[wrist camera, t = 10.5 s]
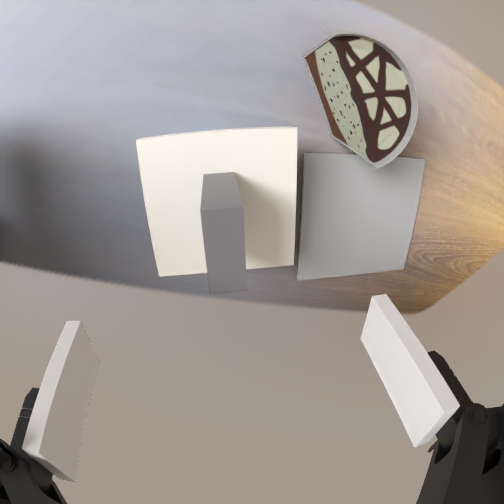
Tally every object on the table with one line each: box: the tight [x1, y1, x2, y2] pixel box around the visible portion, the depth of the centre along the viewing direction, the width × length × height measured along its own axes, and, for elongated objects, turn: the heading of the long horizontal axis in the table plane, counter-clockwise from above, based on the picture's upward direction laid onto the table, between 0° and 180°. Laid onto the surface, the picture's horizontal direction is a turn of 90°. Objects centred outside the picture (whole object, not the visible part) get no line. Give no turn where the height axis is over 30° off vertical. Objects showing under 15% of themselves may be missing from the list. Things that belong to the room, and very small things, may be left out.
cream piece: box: [136, 127, 297, 294], centre depth 23 cm, size 13×13×9 cm
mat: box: [297, 153, 425, 280], centre depth 36 cm, size 16×16×1 cm
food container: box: [303, 30, 418, 170], centre depth 24 cm, size 12×6×10 cm, turn 22°
